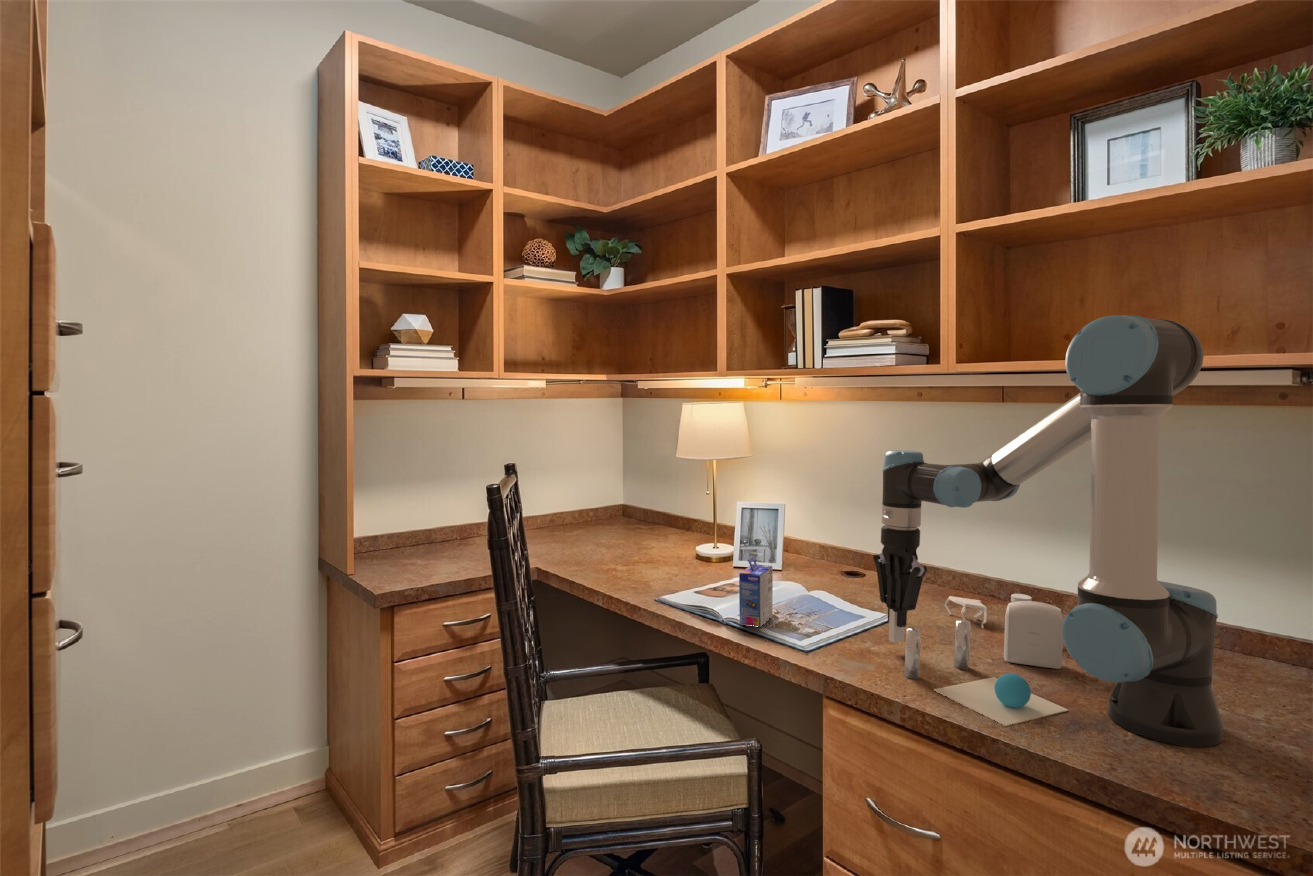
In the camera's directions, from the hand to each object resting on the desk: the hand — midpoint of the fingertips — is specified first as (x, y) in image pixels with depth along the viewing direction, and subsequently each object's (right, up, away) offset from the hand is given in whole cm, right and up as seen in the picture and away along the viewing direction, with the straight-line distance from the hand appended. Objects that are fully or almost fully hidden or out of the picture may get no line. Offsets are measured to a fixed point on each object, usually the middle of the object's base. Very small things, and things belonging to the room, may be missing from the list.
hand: (896, 640), depth 147 cm
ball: (+11, -1, -25) cm, 28 cm away
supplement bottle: (+30, -3, +9) cm, 31 cm away
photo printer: (+25, -3, -5) cm, 26 cm away
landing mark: (+10, -4, -23) cm, 25 cm away
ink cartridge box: (-26, -1, +19) cm, 32 cm away
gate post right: (+10, -3, -7) cm, 13 cm away
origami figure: (+24, -2, +22) cm, 33 cm away
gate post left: (-1, -3, -12) cm, 13 cm away
